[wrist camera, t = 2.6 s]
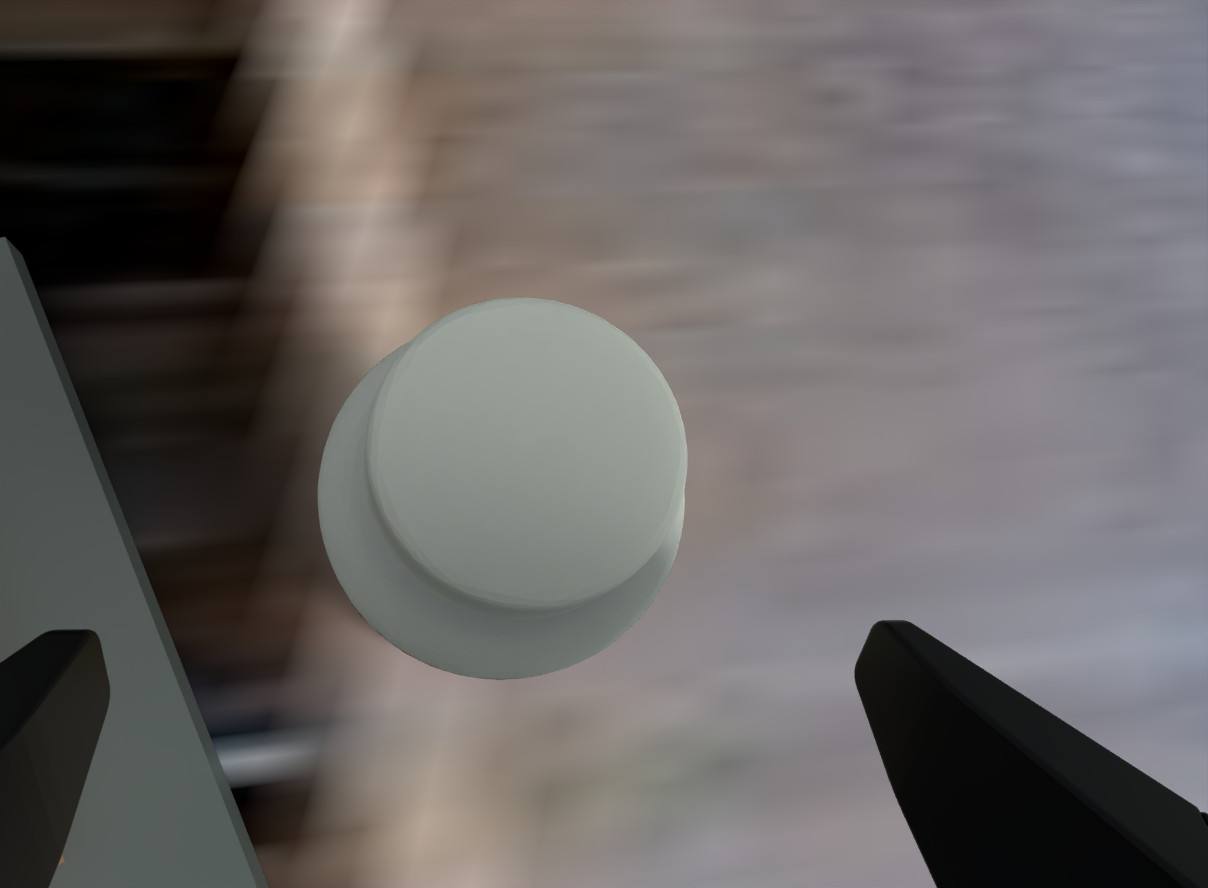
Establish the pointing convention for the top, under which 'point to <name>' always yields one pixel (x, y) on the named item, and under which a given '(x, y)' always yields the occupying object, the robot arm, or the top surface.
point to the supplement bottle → (506, 489)
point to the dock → (103, 632)
